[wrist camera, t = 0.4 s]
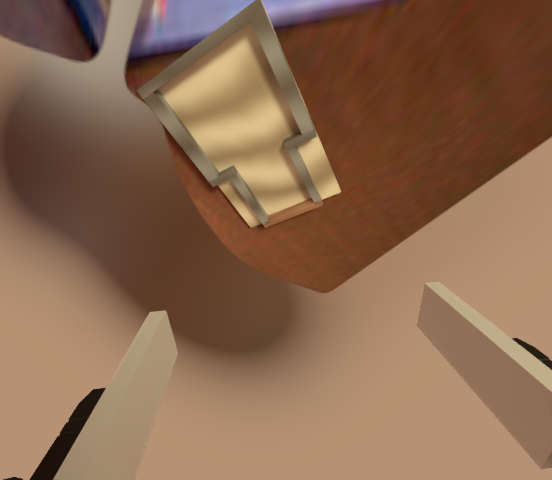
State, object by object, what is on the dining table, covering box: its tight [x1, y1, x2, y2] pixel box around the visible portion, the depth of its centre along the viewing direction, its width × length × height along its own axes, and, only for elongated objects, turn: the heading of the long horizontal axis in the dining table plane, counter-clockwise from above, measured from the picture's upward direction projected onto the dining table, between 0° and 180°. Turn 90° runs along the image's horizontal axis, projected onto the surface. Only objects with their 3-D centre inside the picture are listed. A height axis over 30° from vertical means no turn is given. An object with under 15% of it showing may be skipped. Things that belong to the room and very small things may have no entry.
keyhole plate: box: [136, 0, 341, 228], centre depth 34 cm, size 24×16×2 cm, turn 28°
